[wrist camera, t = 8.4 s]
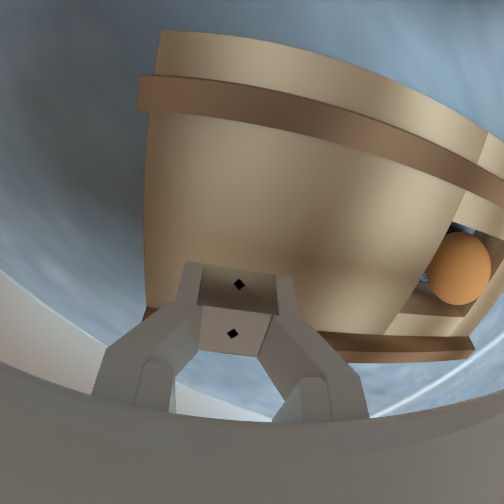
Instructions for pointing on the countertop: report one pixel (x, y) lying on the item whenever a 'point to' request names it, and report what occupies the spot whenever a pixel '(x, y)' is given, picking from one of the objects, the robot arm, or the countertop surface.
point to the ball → (459, 269)
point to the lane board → (316, 190)
